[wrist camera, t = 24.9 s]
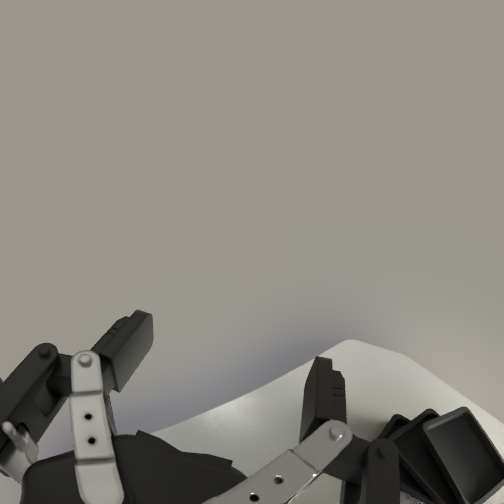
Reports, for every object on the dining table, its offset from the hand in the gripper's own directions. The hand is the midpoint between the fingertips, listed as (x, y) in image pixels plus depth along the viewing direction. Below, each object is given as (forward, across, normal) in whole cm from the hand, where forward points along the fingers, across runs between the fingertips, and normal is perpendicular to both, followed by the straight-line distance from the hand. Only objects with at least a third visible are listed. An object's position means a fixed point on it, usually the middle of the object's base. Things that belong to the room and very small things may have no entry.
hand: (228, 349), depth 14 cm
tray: (+12, -37, +32) cm, 51 cm away
